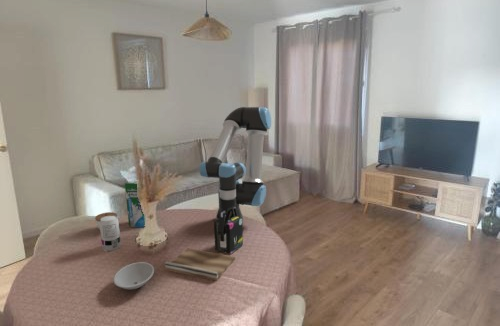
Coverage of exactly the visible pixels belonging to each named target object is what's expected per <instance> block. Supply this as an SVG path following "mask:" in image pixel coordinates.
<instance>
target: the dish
mask: <svg viewBox="0 0 500 326" xmlns="http://www.w3.org/2000/svg"><path fill="white" fill-rule="evenodd" d="M154 272H155V268H154V266H153V264H151V263H149V262H145V261H139V262H133V263H131V264H129V263H128V264H127V265H125V266H123V267H121V268H120V269H119V270H118V271H117V272H116V273H115V275H114V276H113V283H114V286H117V287H119V288H120V289H121V288H122V289H124V290H136V289H138V288H141V287H142V286H144V285H145V284H147V282H148V281H149V280H150V279H151V278H152V277H153V275H154Z"/></svg>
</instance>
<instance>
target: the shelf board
mask: <svg viewBox="0 0 500 326" xmlns="http://www.w3.org/2000/svg"><path fill="white" fill-rule="evenodd" d="M235 260H236V256H235V255H234V256H233V255H229V254H228V255H227V254H222V253H216V252H211V251H206V250H200V249H195V248H190V247H188V248H186V249H185V250H184V251H182V253H181V254H179V255H178V256H177V257H176V258H174V259H173V260H172V261H165V262H164V267H165V270H166V271H169V272H174V273H178V274H184V275H187V276H192V277H196V278H200V279H201V278H203V279H206V280H211V281H215V282H216V281H218V280H219V279H220V278H221V277H222V275H224V273H225V272H226V271H227V269H229V268H230V266H231V265H232V264H233V263H234V262H235Z"/></svg>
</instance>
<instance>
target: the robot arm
mask: <svg viewBox="0 0 500 326" xmlns="http://www.w3.org/2000/svg"><path fill="white" fill-rule="evenodd" d="M271 127H272V117H271V113H270V110H269V109H268V107H264V106H263V107H261V106H256V107H255V106H250V107H249V106H248V107H247V106H242V107H241V106H240V107H237V108H235V109H234V110H232V111H231V112H230V113H229V114H228V115H227V116H226V117H225V119H224V121H223V122H222V130H221V132H220V133H219V135H218V138H217V140H216V142H215V144H214V145H213V146H214V147H213V149H212V151H211V153H210V155H209V157H208V160H207V161H202V162H200V165H199V168H198V171H199V172H198V173H199V174H200V176H201V177H204V178H212V179H219V180H218V189H217V192H218V193H217V194H218V209H217V213H216V216H215V217H216V218H215V220H217V219H219V224H218V231H217V234H218V235H220V247H224V248H226V234H225V232H226V226H225V223H227V222H228V220H229V219H230V216H232V217H234V216H238V217H243V213H242V211H241V207H240V205H243V206H251V207H261V206H262V205H263V204H264V201H265V199H266V196H267V186H266V185H264V181H263V180H262V169H263V168H262V164H263V154H264V152H263V151H264V142H265V141H264V140H265V139H264V138H265V135H266V134H267V133H268V130H270V129H271ZM241 129H245V132H246V133H247V135H248V136H247V147H246V148H247V151H246V152H247V153H246V161H245V162H246V163H245V164H246V165H245V164H243V163H242V162H234V163H230V162H228V163H226V162H225V159H226V157H227V155H228V153H229V150H230V148H231V145H232V143H233V140H234V138H235V136H236V134H237V133H239V131H240V130H241ZM243 177H244V178H243ZM242 178H243V179H242ZM240 179H242V183H241V182H240V181H239V180H240ZM243 218H244V217H243Z"/></svg>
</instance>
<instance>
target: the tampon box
mask: <svg viewBox="0 0 500 326" xmlns="http://www.w3.org/2000/svg"><path fill="white" fill-rule="evenodd" d="M243 218H244V217H238V216H234V217H232V216H230V219H229V220H228V222H227V223H225V226H226V232H225V234H226V248H224V247H220V235H218V234H217V231H218V224H219V219H217V220H216V219H215V220H214V221H213V228H214V249H215V251H218V252H222V253H225V254H228V255H232V254H233V253H235V252H236V251H238V250H239V249H240V248H242V247H243V246H244V244H243V243H244V241H243V240H244V238H243V237H244V236H243V234H244V233H243V231H244V230H243V227H244V226H243V225H244V223H243V222H244V221H243V220H244V219H243ZM242 245H243V246H242ZM241 246H242V247H241Z"/></svg>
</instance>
